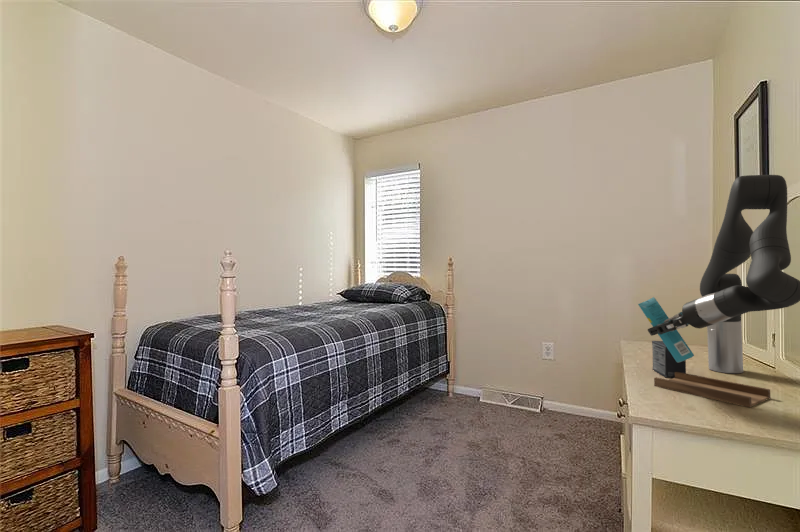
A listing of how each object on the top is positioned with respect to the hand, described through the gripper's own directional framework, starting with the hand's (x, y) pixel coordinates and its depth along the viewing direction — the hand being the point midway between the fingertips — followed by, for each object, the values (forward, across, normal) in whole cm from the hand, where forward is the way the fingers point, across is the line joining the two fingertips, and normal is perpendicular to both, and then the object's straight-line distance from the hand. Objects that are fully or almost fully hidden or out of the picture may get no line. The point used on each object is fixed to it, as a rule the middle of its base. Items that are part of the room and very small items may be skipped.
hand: (656, 328), depth 120 cm
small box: (+15, -12, +16) cm, 25 cm away
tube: (-2, 0, +11) cm, 11 cm away
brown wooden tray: (-1, -3, +21) cm, 21 cm away
